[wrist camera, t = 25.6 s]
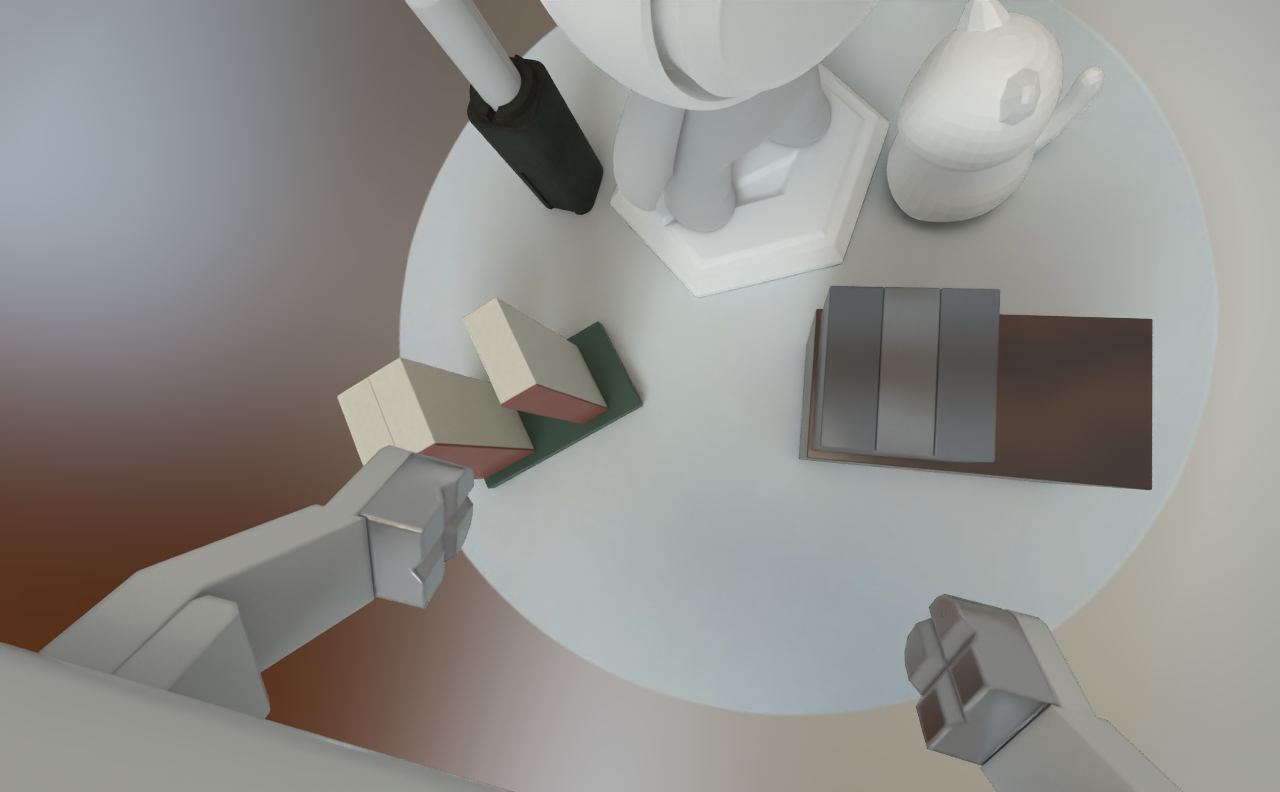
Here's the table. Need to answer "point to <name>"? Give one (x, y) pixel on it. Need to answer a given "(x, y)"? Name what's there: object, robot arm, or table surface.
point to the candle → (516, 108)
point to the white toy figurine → (733, 131)
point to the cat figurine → (981, 114)
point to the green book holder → (476, 414)
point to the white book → (533, 365)
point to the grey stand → (977, 388)
